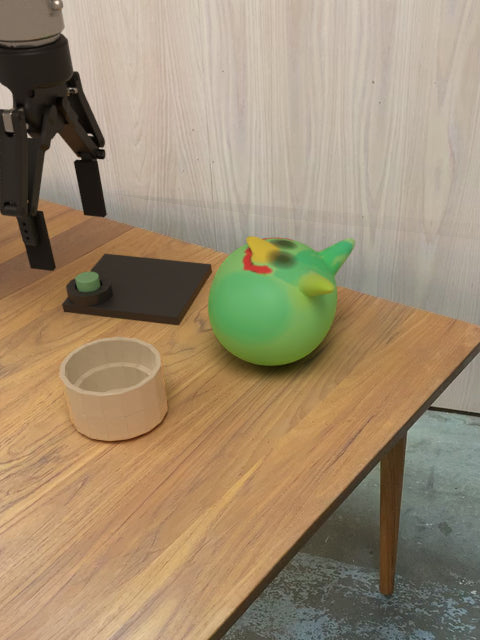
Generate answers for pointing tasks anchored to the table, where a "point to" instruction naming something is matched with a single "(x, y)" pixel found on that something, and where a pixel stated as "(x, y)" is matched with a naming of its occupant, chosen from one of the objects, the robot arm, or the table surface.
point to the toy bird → (275, 298)
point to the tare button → (87, 281)
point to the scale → (140, 289)
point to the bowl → (114, 388)
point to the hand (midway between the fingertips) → (70, 240)
